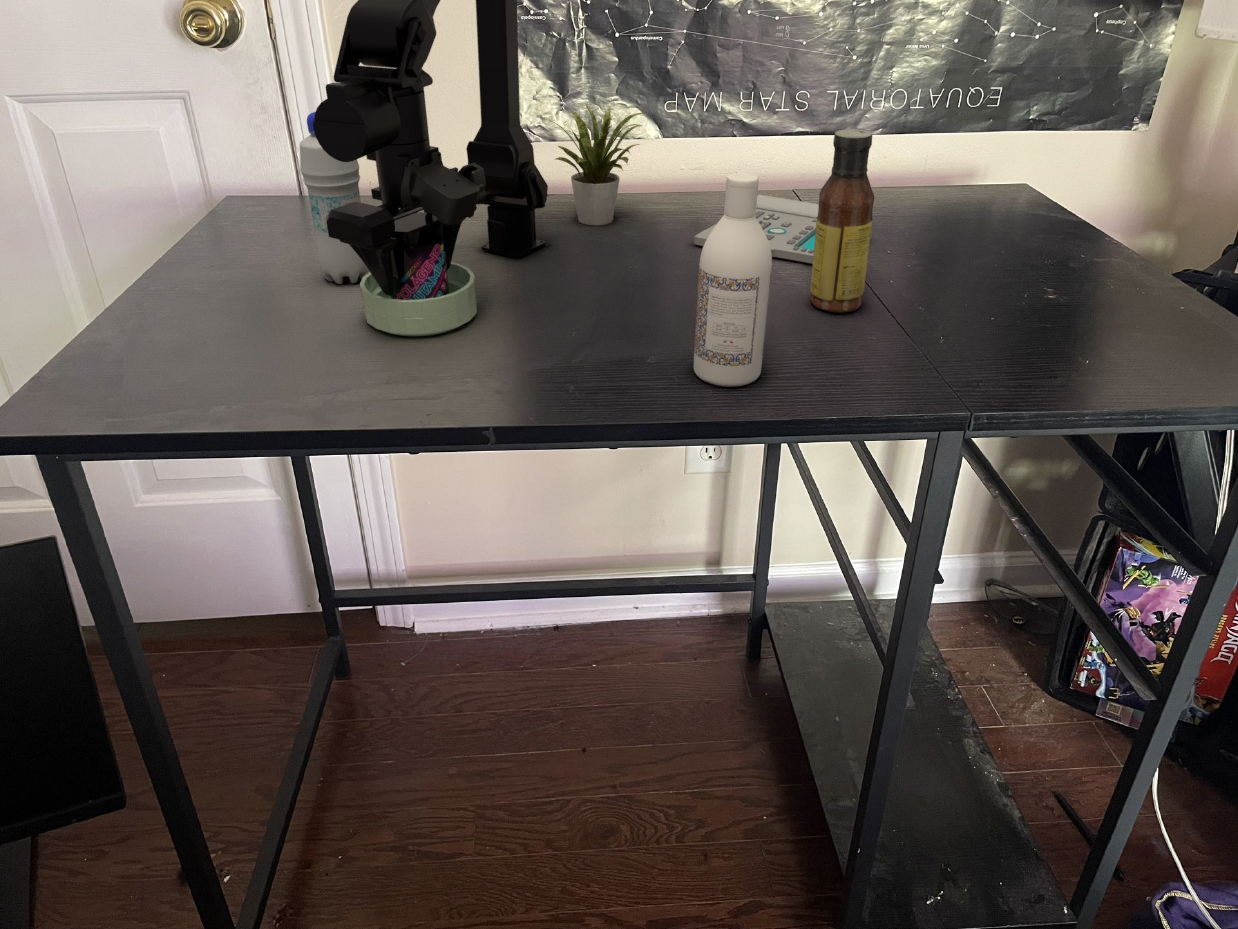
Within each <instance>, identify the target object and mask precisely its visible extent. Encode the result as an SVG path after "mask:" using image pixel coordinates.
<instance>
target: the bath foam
mask: <svg viewBox="0 0 1238 929" xmlns="http://www.w3.org/2000/svg"><path fill="white" fill-rule="evenodd" d="M759 179H760V178H759V176H758V175H756V174H754V173H749V172H733V173H729V174H727V176H726V180H725V193H724V207H723V212H724V213H723V215H722V216H721V218H720V219H719V220H718V222H716V223H717V225H716V226H715V227H714V229H713V230H712V231H711V233H710V235H709V236H708V238H707V240H706V242H705V244H704V246H702V249H701V253H700V258H699V263H698V277H697V296H696V297H697V298H696V313H695V331H694V345H693V346H694V347H693V349H694V350H693V371H694V374H695V375H696V376H697V377H698V378H699V379H700V380H702V381H703V382H706V383H708V384H711V385H714V386H717V387H727V388H735V387H743V386H746V385H750V384H751V383H753V382H755V381H756V380H758V378H759V377H760V375H761V373H762V367H763V357H764V349H765V340H766V331H767V321H768V311H769V301H770V292H771V283H772V274H773V257H772V255H771V249H770V245H769V242H768V239H767V237H766V235H765V233H764V231H763V229H762V227H761V226H760V224H759V222H758V220H757V218H756V216H755V213H756V205H757V196H758V195H759V194H758V193H759V181H760V180H759Z"/></svg>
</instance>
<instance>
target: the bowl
mask: <svg viewBox="0 0 1238 929" xmlns="http://www.w3.org/2000/svg"><path fill="white" fill-rule="evenodd" d="M447 273H448V283H449V293H450V294H447V295H443V296H440V297H435V298H428V299H421V300H399V299H391V297H390V296H389V295H386V294H384V292H383V291H382V289H381V288H380V286H379V285H378V283H377V282H376V280H375V279H374V277H373V276H372V274H371V273H370V272H369V273H368V274H367V275H365V276H364V277H363V278H362V279H360V280H361V281H360V283H359V288H360V289H359V290H360V295H361V301H362V302H361V303H362V308H363V315H364V318H365V320H366V322H367V324H369V325H370V326H371V327H373V328H374V329H376V330H379V331H383V332H385V333H388V334H392V335H396V336H404V337H426V336H434V335H440V334H443V333H446V332H447V333H448V332H450V331H453V330H455V329H457V328H459V327H460V326H462V325H465V324H466V323H468V322H470V321H471V320H472V319H473V318H474V317H475V316H476V314H477V311H478V300H477V288H476V276H475V274H474V272H473V271H472V270H471V268H468V267H467V266H465V265H463V264H461V263H456V262H453V261H451V264H450V268H449V269H448V270H447Z"/></svg>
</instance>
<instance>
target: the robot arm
mask: <svg viewBox="0 0 1238 929" xmlns="http://www.w3.org/2000/svg"><path fill="white" fill-rule="evenodd" d="M440 2H441V0H357V1H356V2H355V3H354V4H353V5H352V6H351V8H350V10H349V11H348V14H347V17H346V22H345V24H344V30H343V34H342V37H341V43H340V48H339V52H338V55H337V58H336V59H337V60H336V64H335V67H334V71H333V72H334V73H333V81H334V82H329V83H327V84H326V85H325V93H326V99H324V100H322V102H320V104H318V106H317V107H316V110H315V111H314V112H315V117H314V121H313V129H314V132H315V136H316V138H317V140H318V142H319V144H320V146H321V147H322V148H323V150H324V151H325V152H326V153H327V154H328V155H329V156H331V157H332V158H334V159H336V160H338V161H341V162H351V161H354V160H357V161H358V160H359V159H361V158H364V157H366V160H367V161H368V160H369V161H372V162H375V167H376V174H377V183H378V186H377V187H374V188H371V189H370V191H371V198H372V200H376V201H380V202H381V204H380V205H372V204H368V203H363V202H361V203H360V202H352V203H349V204H346V205H344V206H341V207H338V208H335V209H332V210H331V211H330V212H329V214H328V215H327V217H326V223H327V229H328V234H329V237H331V238H335V239H338V240H340V242H343V243H346V244H349V245H350V246H351V247H352V249H353V250H354V251H355V252H356V253H357V255H358V256H359V257H360V258H361V260H362V261H363V262H364V264H365V265H366V267H367V268H368V270H369V271H370V273H371V274H372V276H373V277H374V279H375V280H376V282H377V283H378V285H379V286H380V288H381V289H382V291H383V292H384V294H386V295H389V296H392V295H394V278H393V268H392V258H391V250H392V249H393V247H394V246H395V245H396V243H397V242H398V239H395V238H391V237H392V235H393V233H394V231H395V222H394V221H396V220H398V219H401V218H403V217H406V216H409V215H411V214H414V213H417V212H422V211H423V213H431V214H432V215H434V216H435V217H437V219H438V220H439V221H440V222H442V223H443V230H444V243H445V253H446V263H447V270H448V269H449V268H450V264H451V262H452V260H453V256H454V252H455V247H456V244H457V239H458V235H459V231H460V229H461V226H462V224H463V222H464V221H465V220H466V219H468V218H469V219H471V218H472V217H474V216H475V212H476V210H477V208H478V207H477V205H484V206H487V207H486V208H487V210H486V211H487V219H486V225H487V226H486V227H487V237H488V238H487V239H488V240H487V241H488V242H487V243H484V244H481V246H480V248H481V250H482V251H485V252H490V253H494V254H498V255H502V256H506V257H509V258H510V257H511V258H514V259H520V258H522V257H525V256H526V255H529V254H531V253H532V252H534V251H537V250H539V249H541V248H542V247H545V246H546V241H545V240H541V239H537V229H536V228H537V226H536V210H537V209H544V208H545V207H546V203H547V199H548V189H549V187H548V186H549V184H548V183H547V182H546V180H545V178H544V177H543V175H542V173H541V172H540V170H539V168H538V167H537V165H536V164H535V153H534V152H535V151H534V146H533V144H532V142H531V141H530V139H529V137H528V135H527V134H526V132H525V130H524V129H523V127H522V125H521V111H520V110H521V106H520V70H519V69H520V67H519V66H520V64H519V27H518V23H519V22H518V21H519V20H518V0H475V17H476V38H477V39H476V41H477V60H478V61H477V62H478V82H479V84H478V85H479V106H480V127H479V129H478V131H477V133H476V134H475V136H474V138H473V140H470V141H468V143H467V145H466V148H465V149H466V156H467V164H465V165H463V166H462V167H461V168H460V169H459V168H458V167H452V168H449V167H447V166H445V165H444V163H443V159H442V158H443V157H442V153H441V151H440V148H439V146H433V145H430V144H431V143H430V134H429V125H428V115H427V114H428V113H427V106H426V105H427V104H426V96H425V87H429V86H431V85H433V82H434V79H433V77H432V76H431V75H430V74H429V73H428V72H427V71H425V70H424V69H423V68H424V66H425V64H426V62H427V61H428V58H429V55H430V53H431V51H432V47H433V46H434V43H435V40H436V37H437V29H436V24H435V20H434V16H435V13H436V11H437V7H438V6H439V3H440ZM360 64H362V65H360Z"/></svg>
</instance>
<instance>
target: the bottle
mask: <svg viewBox="0 0 1238 929" xmlns="http://www.w3.org/2000/svg"><path fill="white" fill-rule="evenodd" d="M315 112H316V111H313V112H311V113H309V114H308V115H307V117H306V126H307V130H308V133H309V135H308V136H306V137H305V138H303V139H301V141H299V157H300V158H299V162H300V165H299V166H300V167H299V168H300V170H299V171H300V173H301V175H302V182H303V185H305V187H306V189H307V194H308V199H309V205H310V212H311V216H312V217H311V218H312V222H313V228H314V233H315V241H316V242H315V243H316V253H317V259H318V265H319V268H320V271H321V273H322V275H323V277H324V279H326V280H327V281H328V282H335V283H336V284H337V285H343V283H344V277H348V278H349V282H350V283H351V284H356V283H357V282H358V280H359V278H360V280H362V278H363V277H364V276H365V275H367V274H368V273H369V272H370V271H369V270H368V268H367V267H366V265H365V264H364V262H363V261H362V260H361V258H360V257H359V256H358V255H357V253H356V252H355V251H354V250H353V249H352V247H351V246H350V245H349V244H346V243H343V242H340V240H338V239H335V238H331V237H329V234H328V229H327V223H326V217H327V215H328V214H329V212H330V211H331V210H332V209H335V208H338V207H341V206H344V205H346V204H349V203H352V202H360V203H362V199H361V192H360V187H359V182H360V180H361V175H360V164H359V161H358V159H357V160H354V161H351V162H341V161H338V160H336V159H334V158H332V157H331V156H329V155H328V154H327V153H326V152H325V151H324V150H323V148H322V147H321V146H320V144H319V142H318V140H317V138H316V136H315V132H314V129H313V121H314V117H315Z"/></svg>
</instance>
